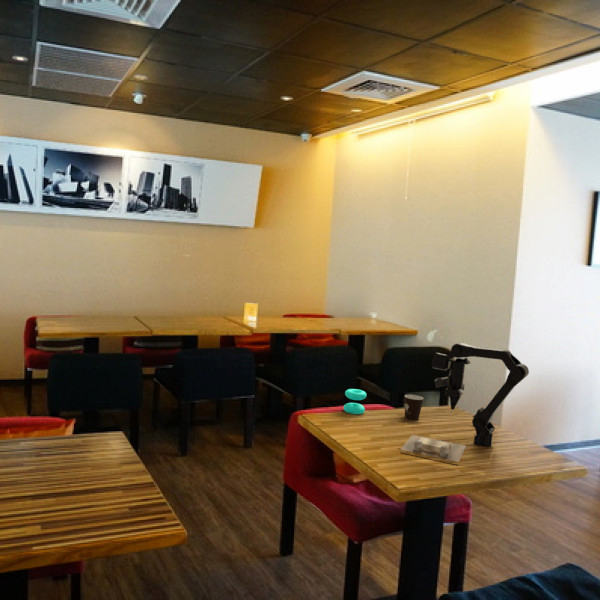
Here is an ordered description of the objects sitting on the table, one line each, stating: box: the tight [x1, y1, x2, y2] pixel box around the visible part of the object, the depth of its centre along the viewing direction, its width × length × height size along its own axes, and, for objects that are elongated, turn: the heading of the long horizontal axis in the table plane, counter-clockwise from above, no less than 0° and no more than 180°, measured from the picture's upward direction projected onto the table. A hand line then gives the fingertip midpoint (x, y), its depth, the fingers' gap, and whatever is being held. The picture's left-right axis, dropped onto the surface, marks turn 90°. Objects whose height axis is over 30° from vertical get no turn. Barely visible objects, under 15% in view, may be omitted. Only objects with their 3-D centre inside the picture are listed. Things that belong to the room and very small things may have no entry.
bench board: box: [399, 434, 467, 467], centre depth 245 cm, size 22×22×5 cm
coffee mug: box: [402, 394, 424, 421], centre depth 291 cm, size 12×9×10 cm
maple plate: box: [418, 436, 452, 454], centre depth 243 cm, size 12×8×2 cm, turn 68°
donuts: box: [343, 388, 367, 415], centre depth 291 cm, size 10×10×10 cm
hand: (452, 409), depth 261 cm, fingers closed
